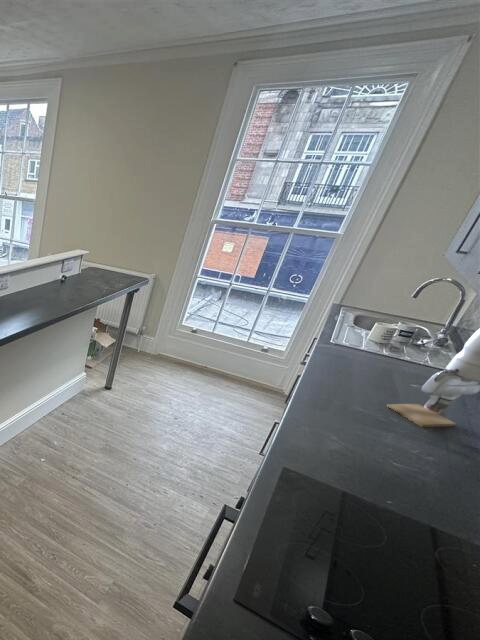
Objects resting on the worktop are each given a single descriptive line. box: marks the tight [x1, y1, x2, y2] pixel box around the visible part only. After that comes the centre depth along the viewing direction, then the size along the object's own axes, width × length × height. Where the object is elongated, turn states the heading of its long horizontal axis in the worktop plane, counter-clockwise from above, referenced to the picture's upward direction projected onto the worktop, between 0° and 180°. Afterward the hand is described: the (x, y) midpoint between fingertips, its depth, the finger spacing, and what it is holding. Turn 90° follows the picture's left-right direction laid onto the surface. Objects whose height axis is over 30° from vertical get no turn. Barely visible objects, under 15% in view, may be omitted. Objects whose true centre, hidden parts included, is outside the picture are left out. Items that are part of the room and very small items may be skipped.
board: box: [386, 403, 457, 428], centre depth 141 cm, size 12×14×1 cm
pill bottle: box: [423, 393, 457, 414], centre depth 138 cm, size 5×5×8 cm
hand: (438, 403), depth 139 cm, fingers closed on pill bottle, 5 cm apart
